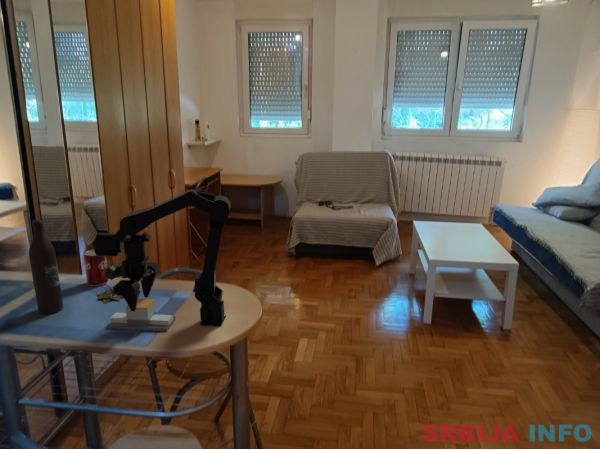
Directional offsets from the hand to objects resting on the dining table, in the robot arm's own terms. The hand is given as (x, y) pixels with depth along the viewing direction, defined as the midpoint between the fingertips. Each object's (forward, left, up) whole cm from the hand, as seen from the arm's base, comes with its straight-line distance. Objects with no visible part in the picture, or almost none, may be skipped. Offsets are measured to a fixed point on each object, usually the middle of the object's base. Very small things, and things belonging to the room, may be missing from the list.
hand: (140, 303), depth 131 cm
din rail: (0, 0, -7) cm, 7 cm away
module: (0, 0, -6) cm, 6 cm away
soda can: (+29, -28, -7) cm, 41 cm away
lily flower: (+18, -18, -8) cm, 27 cm away
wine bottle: (+33, -6, -7) cm, 34 cm away
